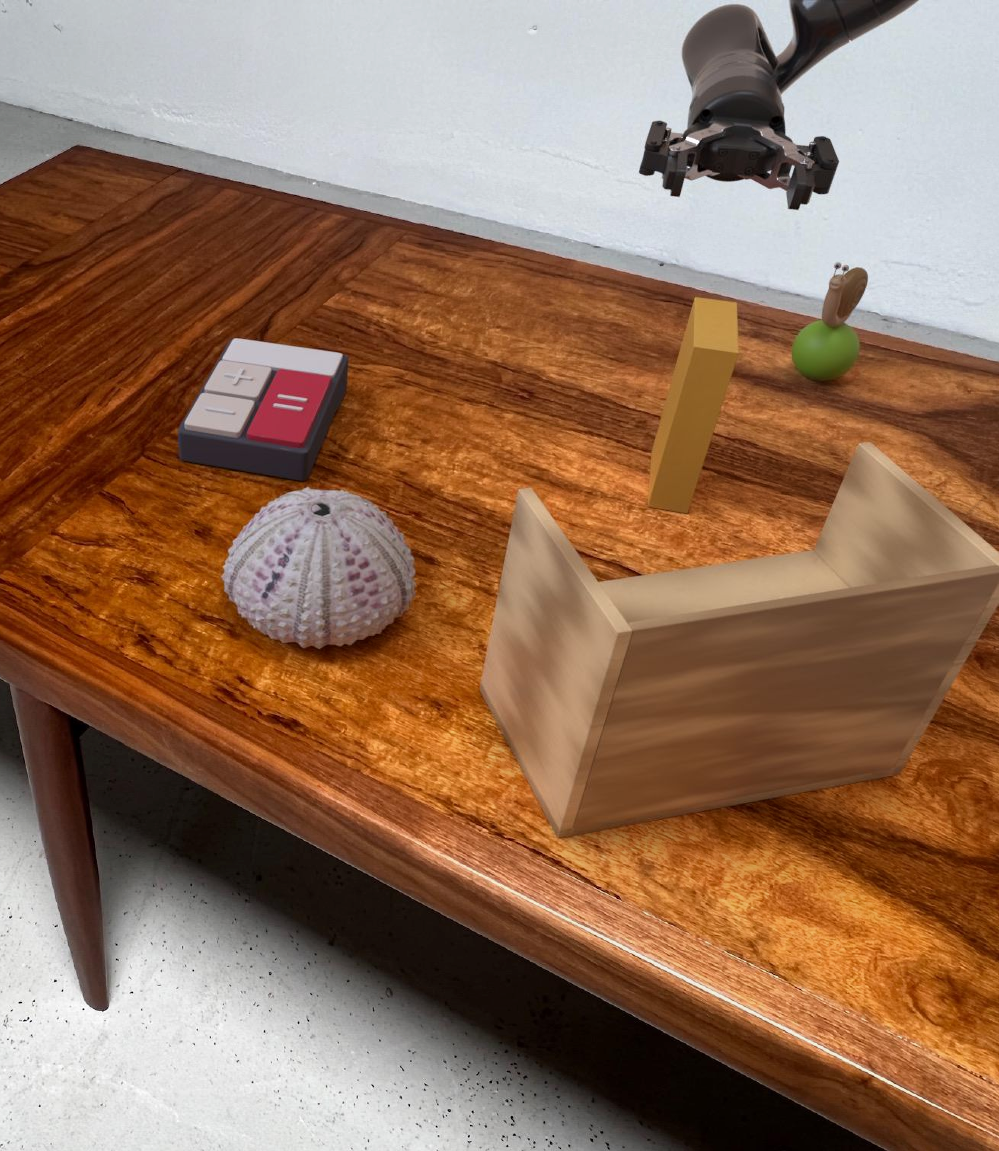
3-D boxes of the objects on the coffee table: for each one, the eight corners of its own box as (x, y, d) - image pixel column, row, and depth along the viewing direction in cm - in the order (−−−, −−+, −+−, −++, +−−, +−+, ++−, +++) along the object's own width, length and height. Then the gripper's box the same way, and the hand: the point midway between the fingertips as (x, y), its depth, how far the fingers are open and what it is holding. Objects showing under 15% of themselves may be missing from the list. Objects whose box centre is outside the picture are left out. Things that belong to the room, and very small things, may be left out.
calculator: (175, 424, 91) (230, 329, 101) (178, 466, 94) (231, 370, 104) (307, 445, 88) (350, 346, 98) (306, 488, 91) (347, 388, 101)
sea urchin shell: (435, 654, 75) (449, 561, 70) (236, 675, 74) (235, 582, 69) (386, 533, 86) (396, 444, 80) (210, 550, 84) (208, 461, 79)
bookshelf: (478, 689, 73) (517, 488, 63) (785, 639, 76) (870, 441, 66) (557, 838, 64) (617, 632, 54) (900, 774, 67) (1019, 569, 57)
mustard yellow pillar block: (647, 506, 88) (693, 346, 79) (651, 450, 94) (694, 295, 85) (687, 514, 87) (738, 352, 78) (689, 457, 93) (737, 301, 84)
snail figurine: (766, 379, 103) (809, 254, 95) (801, 355, 106) (845, 233, 98) (824, 402, 99) (873, 275, 92) (858, 377, 103) (908, 252, 95)
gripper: (809, 173, 97) (822, 250, 86) (638, 155, 101) (628, 227, 89) (839, 82, 92) (857, 151, 81) (658, 67, 96) (650, 130, 84)
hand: (737, 190), depth 85 cm, fingers open, 8 cm apart
